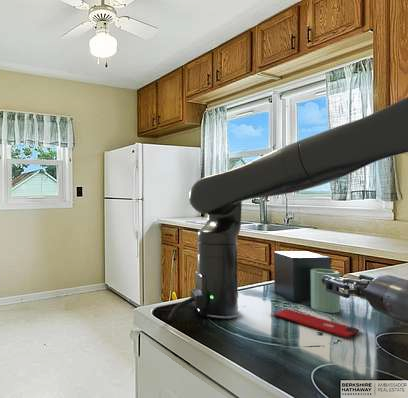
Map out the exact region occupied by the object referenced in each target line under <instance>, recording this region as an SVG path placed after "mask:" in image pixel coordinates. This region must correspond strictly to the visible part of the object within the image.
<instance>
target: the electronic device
mask: <svg viewBox="0 0 408 398" xmlns="http://www.w3.org/2000/svg"><path fill="white" fill-rule="evenodd" d="M273 315H274V317H277V318H280V319H283V320H286V321H290V322H293V323H297V324H299V325H303V326H307V327H309V328H313V329H316V330H319V331H322V332H326V333H329V334H331V335H332V334H333V335H335V336H338V337H342V338H344V339H345V338H346V339H348V338H350V337H352V336H353V335H355V334H358V333H359V332H360V330H359V328H357V327H353V326H349V325H345V324H341V323H338V322H334V321H331V320H328V319H324V318H321V317H317V316H313V315H309V314H306V313H302V312H300V311H299V312H298V311H295V310H292V309H288V308H285V309H283V310H279V311H277V312H274V314H273Z"/></svg>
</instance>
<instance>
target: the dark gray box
mask: <svg viewBox="0 0 408 398" xmlns="http://www.w3.org/2000/svg"><path fill="white" fill-rule="evenodd" d="M332 260H333V259H332V257H330V256H326V255H322V254H318V253H314V252H312V251H274V252H273V265H274V266H273V267H274V268H273V270H274V271H273V275H274V276H273V277H274V278H273V279H274V280H273V281H274V282H273V283H274V284H273V285H274V288H273V289H274V292H275V293H276V294H278V295H279V296H281V297H283V298H285V299H287V300H288V301H290V302H292V303H311V269H329V270H332V263H333V261H332Z"/></svg>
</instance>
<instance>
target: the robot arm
mask: <svg viewBox="0 0 408 398" xmlns="http://www.w3.org/2000/svg"><path fill="white" fill-rule="evenodd" d="M407 153H408V96H406V97H404V98H401V99H400V100H398V101H395V102H394V103H392V104H390V105H388V106H385V107H384V108H382V109H379V110H377V111H375V112H373V113H371V114H369V115H366V116H364V117H362V118H359V119H356V120H354V121H350V122H346V123H344V124H340V125H338V126H335V127H332V128H330V129H327V130H325V131H321V132H318V133H316V134H313V135H310V136H308V137H305V138H303V139H300V140H298V141H295V142H293V143H291V144H288V145H285V146H283V147H281V148H279V149H276V150H273V151H272V152H269V153H267V154H265V155H262V156H260V157H257V158H256V159H255V158H254V159H253V160H251V161H249V162H247V163H245V164H243V165H240V166H237V167H236V168H233V169H229V170H225V171H221V172H219V173H216V174H211V175H207V176H204V177H201V178H199V179H198V180H197V181H196V182H194V184H193V185H192V186H191V188H190V191H189V196H188V201H189V204H190V205H191V208H193V209H194V211H196V212H197V213H200V214H203V215H206V216H207V220H206V222H205V224H204V226H202V227H201V228H200V229H199V230H198V231H197V236H196V237H197V238H196V239H197V270H196V271H195V273H194V275H195V276H194V277H195V279H194V280H195V281H194V282H195V288H193V289H190V297H189V298H188V299H187V298H186V299H185V300H183V301H181V302H179V303H178V304H176V305H175V306H174V308H173V309H172V310H171V312H170V314H169V315H168V316H167V321H168V322H169V321H172V320H173V319H174V318H175V316H176V314H177V313H178V311H179V310H181V308H183V307H184V306H186V305H188V304H192V305H193V306H194V308H195V310H196V311H197V313H198V314H199V315H200V316H201V317H202V318H210V319H214V320H231V319H235V318H237V317H238V316H239V304H238V303H239V302H238V300H239V292H238V285H239V284H238V237H239V234H240V232H241V227H242V207H243V206H242V205H243V203H242V202H244V201H247V200H252V199H253V200H254V199H261V198H266V197H267V198H268V197H275V196H283V195H288V194H292V193H297V192H301V191H306V190H309V189H312V188H315V187H319V186H322V185H325V184H328V183H332V182H334V181H337V180H340V179H342V178H344V177H346V176H348V175H350V174H353V173H355V172H357V171H359V170H361V169H363V168H365V167H367V166H370V165H371V164H374V163H376V162H378V161H382V160H384V159H388V158H392V157H395V156H400V155H404V154H407ZM322 283H323V284H324V285H326V288H325V290H326V291H329V292H331V293H334V294H337V295H339V296H340V297H342V298H345V299H350V298H351V297H356V298H359V299H360V300H365V301H367V303H369V305H370V306H371V308H373V309H374V310H375V311H377V312H379V313H381V314H383V315H386V316H388V317H390V318H393V319H396V320H397V321H401V322H402V323H405V324H408V279H405V278H402V277H397V276H394V275H391V274H390V275H389V274H383V275H379V276H376V277H373V276H369V275H365V274H359V275H358V279H357V278H353V277H346V278H343V279H342V278H340V279H337V278H334V277H331V276H328V275H323V276H322ZM351 283H353V287H351V286H350V285H351Z"/></svg>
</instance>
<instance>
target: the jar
mask: <svg viewBox="0 0 408 398" xmlns="http://www.w3.org/2000/svg"><path fill="white" fill-rule="evenodd" d="M323 275H328V276H331V277H334V278H337V279H341V278H340V276H341V274H340V272H339V271H338V270H335V269H331V270H329V269H311V302H310V307H311V308H312V309H313V310H315V311H318V312H323V313H331V314H335V313H337V314H338V313H339V312H341V310H340V309H341V296H339V295H337V294H334V293H331V292H329V291H326V290H325V288H326V285H324V284H323V283H322V276H323Z"/></svg>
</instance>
